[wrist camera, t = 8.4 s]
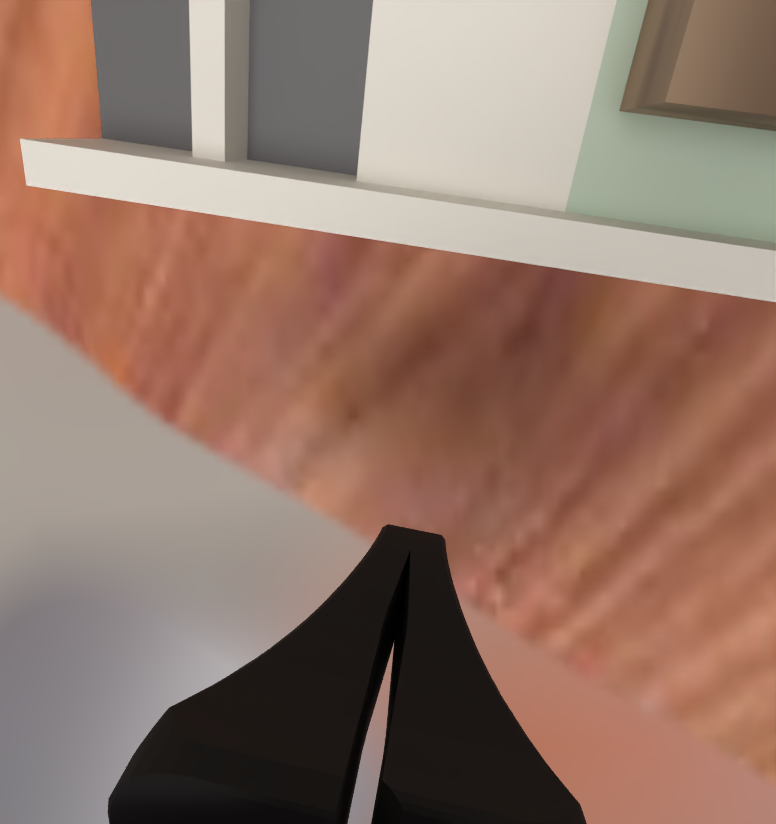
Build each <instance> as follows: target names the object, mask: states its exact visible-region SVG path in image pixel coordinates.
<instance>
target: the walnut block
mask: <svg viewBox="0 0 776 824" xmlns="http://www.w3.org/2000/svg"><path fill="white" fill-rule="evenodd" d="M619 111H623V112H631V113H638V114H646V115H654V116H662V117H669V118H677V119H685V120H693V121H701V122H708V123H716V124H724V125H732V126H739V127H747V128H755V129H763V130H771V131H776V0H648V4H647V7H646V11H645V15H644V19H643V23H642V26H641V30H640V34H639V38H638V42H637V45H636V49H635V53H634V57H633V61H632V64H631V68H630V72H629V76H628V80H627V83H626V87H625V91H624V95H623V99H622V102H621V106H620V110H619Z"/></svg>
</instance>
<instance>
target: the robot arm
mask: <svg viewBox="0 0 776 824" xmlns="http://www.w3.org/2000/svg"><path fill="white" fill-rule="evenodd" d="M393 643H394V651H393V662H392V673H391V683H390V695H389V706H388V717H387V729H386V738H385V746H384V754H383V760H382V766H381V771H380V777H379V783H378V789H377V794H376V800H375V806H374V811H373V817H372V822H371V824H586V820H585V817H584V815H583V811H582V808H581V806H580V804H579V803H578V801H577V800H576V799H575V798H574V797H573V795H572V794H571V793H570V792H569V790H568V789H567V788H566V787H565V786H564V785H563V783H562V782H561V781H560V780H559V778H558V777H557V776H556V775H555V774H554V772H553V771H552V770H551V768H550V767H549V766H548V765H547V764H546V762H545V761H544V759H543V758H542V756H541V755H540V754H539V752H538V751H537V749H536V748H535V747H534V745H533V744H532V742H531V741H530V740H529V738H528V737H527V735H526V734H525V732H524V731H523V729H522V727H521V726H520V724H519V723H518V721H517V720H516V718H515V717H514V715H513V713H512V712H511V710H510V709H509V707H508V705H507V704H506V702H505V701H504V699H503V698H502V696H501V694H500V692H499V691H498V688H497V687H496V685H495V683H494V681H493V680H492V678H491V676H490V674H489V672H488V670H487V668H486V666H485V664H484V662H483V660H482V658H481V656H480V654H479V651H478V649H477V647H476V645H475V642H474V640H473V638H472V636H471V633H470V630H469V628H468V626H467V623H466V620H465V618H464V615H463V612H462V609H461V606H460V603H459V600H458V597H457V594H456V591H455V588H454V584H453V581H452V577H451V573H450V569H449V564H448V559H447V553H446V544H445V539H444V538H443V536H442V535H439V534H434V533H429V532H424V531H419V530H414V529H409V528H404V527H399V526H394V525H389V524H388V525H386V526H384V527H383V528H382V530H381V532H380V534H379V535H378V537H377V539H376V540H375V542H374V543H373V545H372V546H371V548H370V549H369V551H368V552H367V553H366V555H365V556H364V557H363V559H362V560H361V561H360V563H359V564H358V565H357V566H356V567H355V569H354V570H353V571H352V572H351V574H350V575H349V576H348V577H347V579H346V580H345V581H344V582H343V583H342V584H341V585H340V586H339V587H338V588H337V589H336V590H335V591H334V592H333V593H332V595H331V596H330V597H329V598H328V599H327V600H326V601H325V602H324V603H323V604H322V605H321V606H320V607H319V608H318V609H317V610H316V611H315V612H314V613H312V614H311V615H310V616H309V617H308V618H307V619H306V620H305V621H304V622H302V623H301V624H300V625H299V626H298V627H297V628H295V629H294V630H293V631H292V632H290V633H289V634H288V635H287V636H285V637H284V638H283V639H282V640H280V641H279V642H278V643H277V644H275V645H274V646H272V647H271V648H270V649H268V650H267V651H266V652H264V653H263V654H261V655H260V656H259V657H257V658H256V659H254V660H252V661H251V662H249V663H248V664H246V665H245V666H243V667H241V668H240V669H238V670H237V671H235V672H234V673H232V674H230V675H229V676H227V677H226V678H224V679H222V680H221V681H219V682H217V683H216V684H214V685H212V686H210V687H208V688H206V689H204V690H202V691H200V692H199V693H197V694H195V695H193V696H191V697H189V698H187V699H185V700H183V701H181V702H179V703H178V704H176V705H173V706H171V707H170V708H169V709H168V710H167V711H166V712H165V713H164V714H163V716H162V717H161V718H160V719H159V721H158V722H157V723H156V725H155V726H154V727H153V728H152V730H151V731H150V732H149V734H148V735H147V736H146V738H145V739H144V741H143V742H142V743H141V744H140V746H139V747H138V749H137V750H136V752H135V753H134V755H133V756H132V758H131V760H130V762H129V763H128V766H127V767H126V769H125V771H124V773H123V774H122V776H121V778H120V780H119V781H118V783H117V785H116V787H115V788H114V790H113V792H112V794H111V796H110V797H109V801H108V817H109V823H110V824H347V823H348V818H349V813H350V807H351V803H352V798H353V793H354V788H355V784H356V778H357V773H358V769H359V764H360V759H361V754H362V750H363V746H364V742H365V738H366V734H367V731H368V727H369V723H370V721H371V717H372V714H373V710H374V707H375V704H376V700H377V697H378V693H379V690H380V687H381V684H382V680H383V676H384V674H385V670H386V667H387V663H388V660H389V657H390V653H391V650H392V647H393Z"/></svg>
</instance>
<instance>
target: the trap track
mask: <svg viewBox="0 0 776 824" xmlns="http://www.w3.org/2000/svg"><path fill="white" fill-rule="evenodd" d="M647 4H648V0H91V6H92V18H93V30H94V42H95V54H96V66H97V78H98V90H99V101H100V113H101V125H102V137H103V138H69V139H20V142H21V149H22V157H23V164H24V171H25V178H26V185H28V186H34V187H40V188H47V189H53V190H60V191H66V192H73V193H79V194H85V195H92V196H98V197H105V198H111V199H117V200H124V201H130V202H137V203H143V204H149V205H156V206H162V207H169V208H175V209H181V210H188V211H194V212H201V213H207V214H213V215H220V216H226V217H233V218H239V219H246V220H252V221H258V222H265V223H271V224H278V225H284V226H290V227H297V228H303V229H310V230H316V231H322V232H329V233H335V234H342V235H348V236H354V237H361V238H367V239H374V240H380V241H386V242H393V243H399V244H406V245H412V246H419V247H425V248H431V249H438V250H444V251H451V252H457V253H463V254H470V255H476V256H483V257H489V258H495V259H502V260H508V261H515V262H521V263H527V264H534V265H540V266H547V267H553V268H559V269H566V270H572V271H579V272H585V273H592V274H598V275H604V276H611V277H617V278H624V279H630V280H636V281H643V282H649V283H656V284H662V285H668V286H675V287H681V288H688V289H694V290H700V291H707V292H713V293H720V294H726V295H732V296H739V297H745V298H752V299H758V300H765V301H771V302H776V131H771V130H763V129H755V128H747V127H739V126H732V125H724V124H716V123H708V122H701V121H693V120H685V119H677V118H669V117H662V116H654V115H646V114H638V113H631V112H623V111H619V110H620V106H621V102H622V99H623V95H624V91H625V87H626V83H627V80H628V76H629V72H630V68H631V64H632V61H633V57H634V53H635V49H636V45H637V42H638V38H639V34H640V30H641V26H642V23H643V19H644V15H645V11H646V7H647Z"/></svg>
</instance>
